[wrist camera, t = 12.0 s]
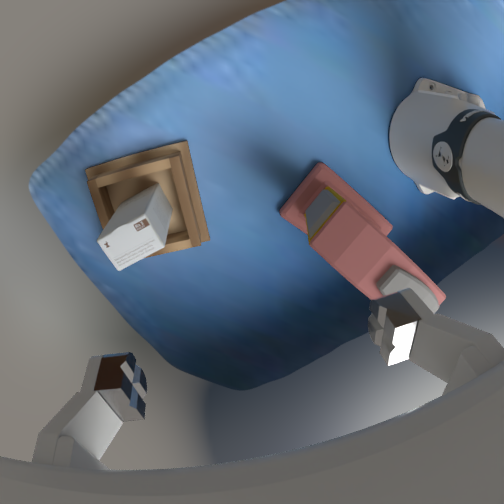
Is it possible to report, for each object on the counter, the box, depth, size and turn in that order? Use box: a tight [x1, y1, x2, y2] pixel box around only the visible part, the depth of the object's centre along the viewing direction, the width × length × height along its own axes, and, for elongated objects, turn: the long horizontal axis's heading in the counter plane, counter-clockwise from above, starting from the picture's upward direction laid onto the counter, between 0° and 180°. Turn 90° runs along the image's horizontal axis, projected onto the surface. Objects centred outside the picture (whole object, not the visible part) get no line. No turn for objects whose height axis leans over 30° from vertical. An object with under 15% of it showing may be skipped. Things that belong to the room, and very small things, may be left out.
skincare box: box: [97, 183, 173, 271], centre depth 35 cm, size 6×4×12 cm
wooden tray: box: [85, 141, 210, 258], centre depth 39 cm, size 14×14×4 cm
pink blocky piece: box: [279, 162, 446, 313], centre depth 37 cm, size 22×9×22 cm, turn 53°
